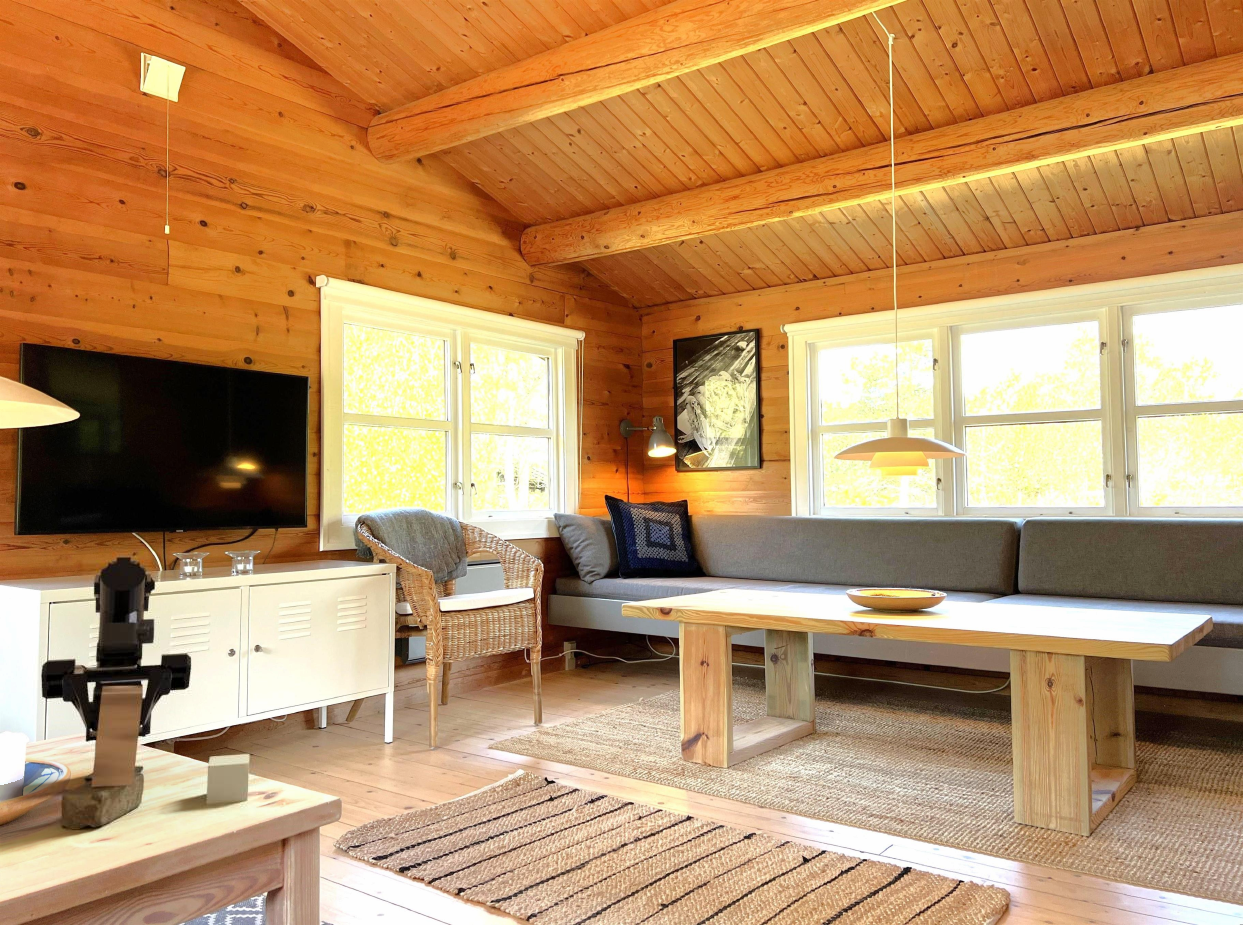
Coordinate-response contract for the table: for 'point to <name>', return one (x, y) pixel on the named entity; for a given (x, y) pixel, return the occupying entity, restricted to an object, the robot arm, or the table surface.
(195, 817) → the table surface
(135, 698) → the oak pillar
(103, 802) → the stone block
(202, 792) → the table surface
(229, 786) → the sage cube
